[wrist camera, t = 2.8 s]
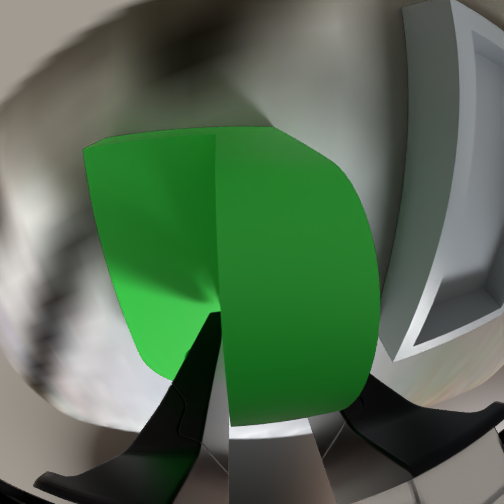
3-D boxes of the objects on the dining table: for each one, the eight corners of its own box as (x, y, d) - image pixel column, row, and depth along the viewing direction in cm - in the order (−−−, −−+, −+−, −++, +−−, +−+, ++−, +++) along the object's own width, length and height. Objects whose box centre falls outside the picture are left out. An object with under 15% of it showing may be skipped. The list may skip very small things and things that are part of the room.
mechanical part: (106, 137, 8) (-71, 263, 2) (273, 126, 9) (434, 239, 2) (157, 358, 15) (148, 489, 8) (260, 354, 15) (285, 486, 9)
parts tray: (523, 71, 7) (557, 80, 4) (481, 290, 16) (501, 314, 13) (401, 7, 6) (449, -4, 4) (372, 325, 15) (392, 362, 13)
